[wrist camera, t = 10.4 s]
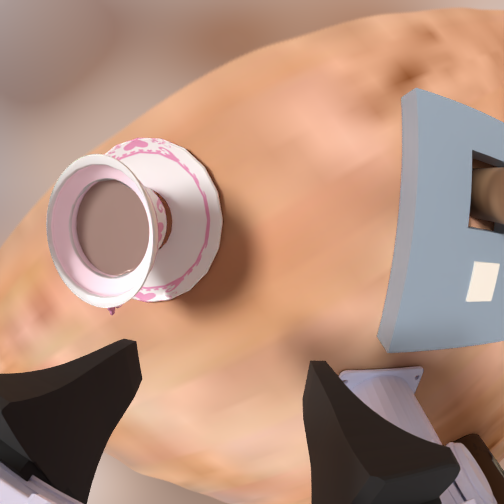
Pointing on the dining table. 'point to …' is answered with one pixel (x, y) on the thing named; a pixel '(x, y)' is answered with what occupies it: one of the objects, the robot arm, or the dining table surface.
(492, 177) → the walnut peg
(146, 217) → the teacup
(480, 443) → the olive oil
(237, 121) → the dining table surface
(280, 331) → the dining table surface
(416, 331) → the hole plate
